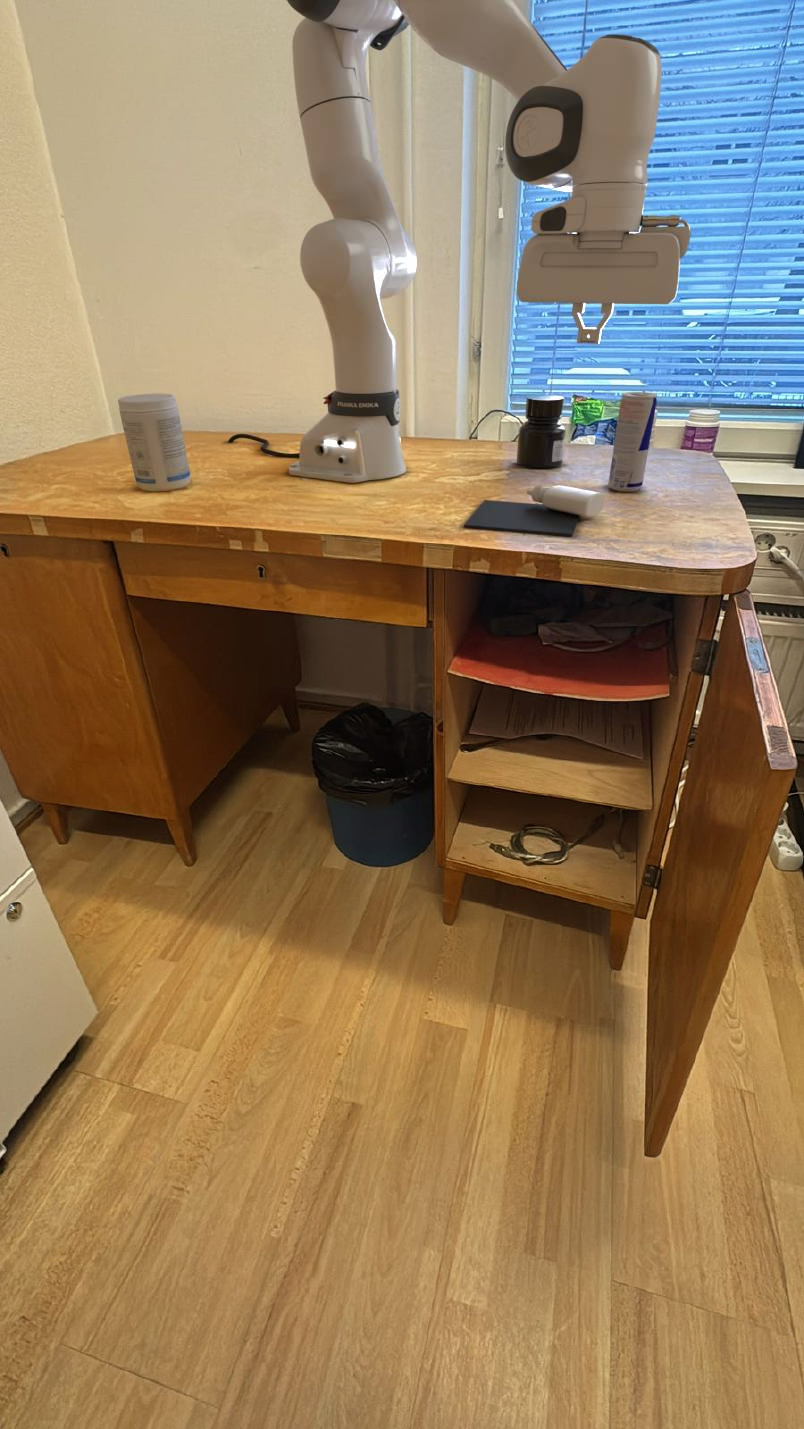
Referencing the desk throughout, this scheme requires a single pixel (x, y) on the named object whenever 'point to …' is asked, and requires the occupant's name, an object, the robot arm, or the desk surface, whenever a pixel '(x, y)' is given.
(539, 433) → the ink bottle
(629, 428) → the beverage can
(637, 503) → the desk surface
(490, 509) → the mat
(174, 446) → the supplement tub
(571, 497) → the eye dropper bottle
